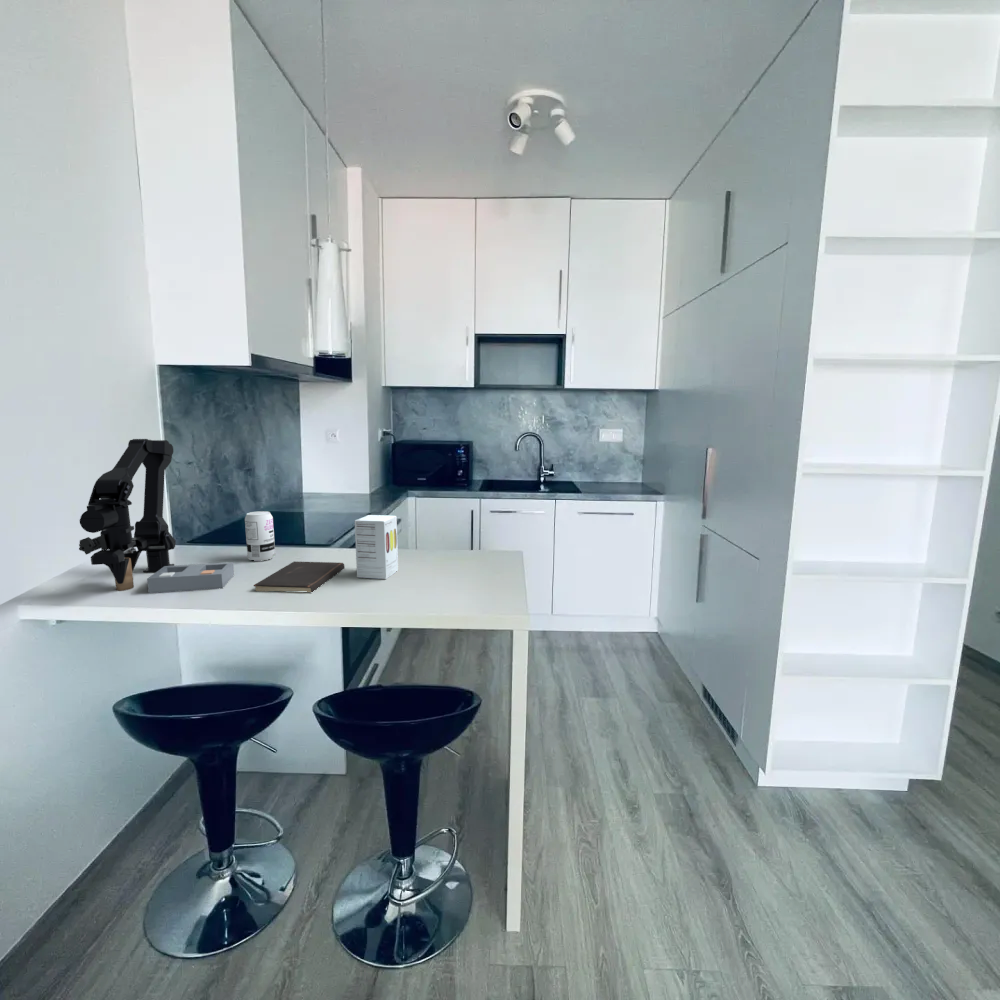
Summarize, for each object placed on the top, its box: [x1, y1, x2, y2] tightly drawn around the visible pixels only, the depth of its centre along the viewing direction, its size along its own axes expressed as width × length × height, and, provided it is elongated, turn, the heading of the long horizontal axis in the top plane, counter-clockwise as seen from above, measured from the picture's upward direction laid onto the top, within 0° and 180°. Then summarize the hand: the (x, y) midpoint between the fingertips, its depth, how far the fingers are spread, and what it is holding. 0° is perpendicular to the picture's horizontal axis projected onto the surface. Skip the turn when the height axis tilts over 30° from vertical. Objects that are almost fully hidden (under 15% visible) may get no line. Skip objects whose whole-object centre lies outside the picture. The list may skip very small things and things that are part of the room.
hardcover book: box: [253, 561, 345, 593], centre depth 156 cm, size 16×23×2 cm
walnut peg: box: [114, 558, 135, 592], centre depth 148 cm, size 4×4×8 cm
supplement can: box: [244, 510, 276, 562], centre depth 176 cm, size 8×8×15 cm
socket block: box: [146, 561, 235, 594], centre depth 152 cm, size 12×18×4 cm, turn 102°
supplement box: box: [354, 514, 399, 580], centre depth 159 cm, size 10×9×17 cm
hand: (124, 581), depth 148 cm, fingers closed on walnut peg, 4 cm apart
